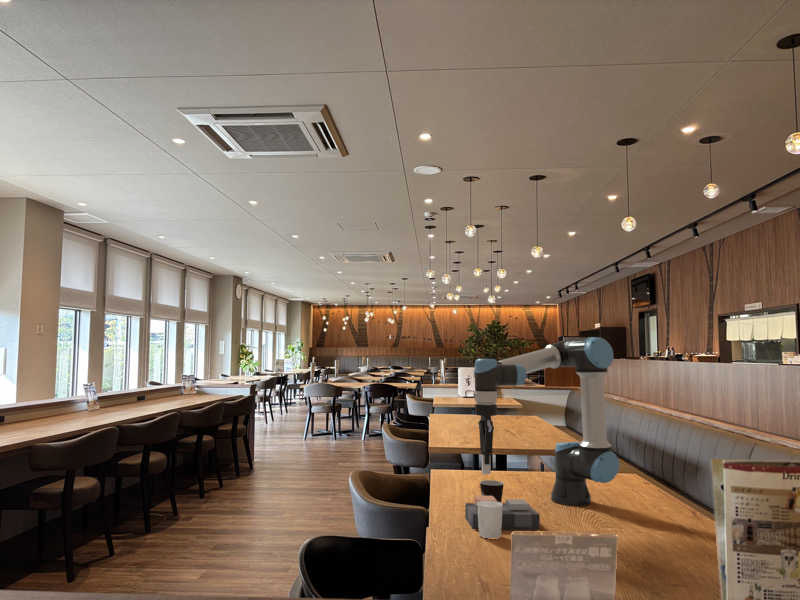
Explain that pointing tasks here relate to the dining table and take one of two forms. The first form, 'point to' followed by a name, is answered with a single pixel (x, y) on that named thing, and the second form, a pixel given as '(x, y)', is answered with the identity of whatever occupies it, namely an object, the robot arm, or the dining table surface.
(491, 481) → the coffee mug
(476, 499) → the salmon orange cube
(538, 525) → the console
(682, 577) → the dining table surface
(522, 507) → the light grey cube
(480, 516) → the white cup
